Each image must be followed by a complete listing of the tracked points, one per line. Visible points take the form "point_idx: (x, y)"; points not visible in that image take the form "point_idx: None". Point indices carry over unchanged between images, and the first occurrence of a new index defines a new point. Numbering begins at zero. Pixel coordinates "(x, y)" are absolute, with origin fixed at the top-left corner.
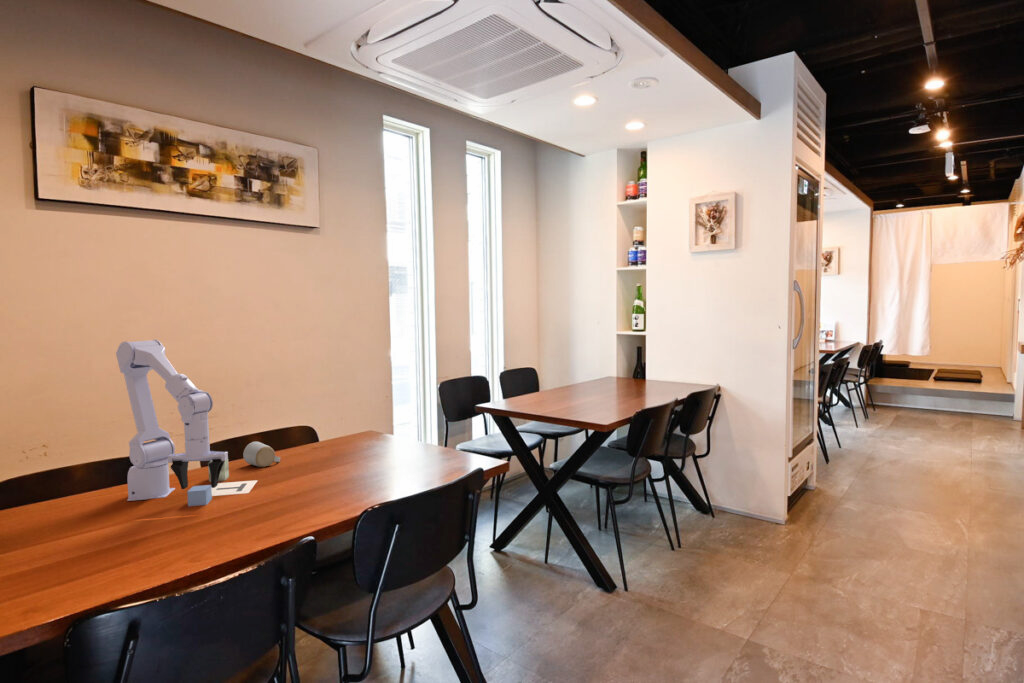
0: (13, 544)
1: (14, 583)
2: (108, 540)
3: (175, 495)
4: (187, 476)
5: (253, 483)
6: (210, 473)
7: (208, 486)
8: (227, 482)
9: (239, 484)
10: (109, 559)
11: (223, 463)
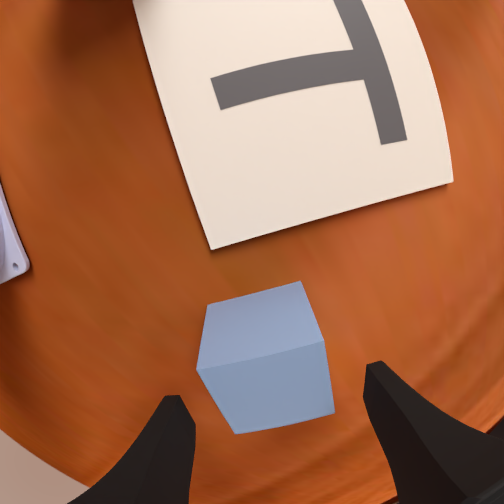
0: (57, 468)
1: None
2: (197, 492)
3: (37, 213)
4: (157, 445)
5: (398, 7)
6: None
7: (320, 369)
8: None
9: (323, 6)
10: None
11: (500, 449)
